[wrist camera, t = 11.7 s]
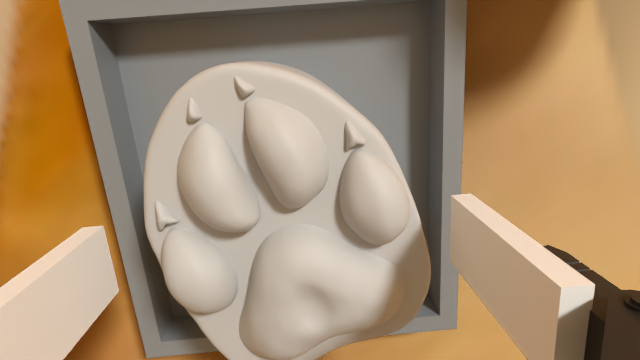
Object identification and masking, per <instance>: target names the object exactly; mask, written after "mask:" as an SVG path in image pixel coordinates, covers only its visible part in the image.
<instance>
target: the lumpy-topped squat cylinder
mask: <svg viewBox="0 0 640 360" xmlns="http://www.w3.org/2000/svg"><path fill="white" fill-rule="evenodd" d="M143 189H144V220H145V229H146V233H147V237H148V239H149V242H150V244H151V247H152V249H153V251H154V253H155V255H156V257H157V259H158V261H159V264H160V266H161V268H162V270H163V275H164V279H165V282H166V285H167V287H168V289H169V291H170V293H171V294H172V296H173V297H174V298H175V299H176V300H177V301H178V302H179V303H180V304H181V305H182V306H184V307H185V309H186V310H187V311H188V313H189V314H190V315H191V317H192V318H193V319H194V320H195V321H196V323H197V324H198V326H199V327H200V329H201V330H202V331H203V333H204V334H205V335H206V336H207V338H208V339H209V340H210V342H211V343H212V344H213V345H214V346H215V347H216V348H217V349H218V350H219V352H220V353H222V354H223V355H224V356H225V357H226V358H227V359H228V360H316V359H318V358H320V357H321V356H323V355H325V354H326V353H328V352H330V351H333V350H335V349H337V348H340V347H342V346H345V345H348V344H351V343H355V342H359V341H364V340H368V339H373V338H378V337H381V336H384V335H387V334H390V333H393V332H395V331H397V330H399V329H401V328H403V327H404V326H406V325H407V324H408V323H410V322H411V321H412V319H413V318H414V317H415V316H416V315H417V313H418V312H419V310H420V309H421V307H422V305H423V302H424V300H425V298H426V295H427V292H428V289H429V284H430V278H431V265H430V256H429V252H428V248H427V244H426V240H425V237H424V233H423V229H422V225H421V220H420V217H419V214H418V211H417V208H416V205H415V202H414V199H413V197H412V194H411V192H410V189H409V187H408V185H407V182H406V180H405V177H404V175H403V173H402V170H401V168H400V166H399V164H398V162H397V160H396V158H395V156H394V154H393V152H392V150H391V148H390V146H389V145H388V143H387V141H386V140H385V138H384V137H383V135H382V134H381V133H380V131H379V130H378V129H377V128H376V127H375V126H374V125H373V124H372V123H371V122H370V121H369V120H368V119H367V118H366V117H365V116H363V115H362V114H361V113H360V112H359V111H357V110H356V109H355V108H354V107H353V106H352V105H351V104H350V103H348V102H347V101H346V100H345V99H344V98H343V97H341V96H340V95H339V94H338V93H336V92H335V91H334V90H332V89H331V88H330V87H328V86H327V85H326V84H324V83H323V82H321V81H320V80H318V79H317V78H315V77H314V76H312V75H310V74H308V73H306V72H304V71H302V70H299V69H296V68H293V67H290V66H287V65H283V64H279V63H274V62H266V61H246V62H236V63H227V64H221V65H218V66H214V67H211V68H209V69H206V70H204V71H202V72H200V73H198V74H197V75H195V76H193V77H192V78H191V79H189V80H188V81H187V82H186V83H185V84H184V85H183V86H182V87H181V88H180V89H179V90H177V91H176V93H175V94H174V95H173V96H172V98H171V99H170V101H169V102H168V104H167V105H166V107H165V109H164V111H163V112H162V114H161V116H160V118H159V120H158V122H157V125H156V127H155V129H154V132H153V134H152V137H151V139H150V142H149V145H148V149H147V154H146V160H145V169H144V187H143Z"/></svg>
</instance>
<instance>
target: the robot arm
mask: <svg viewBox="0 0 640 360" xmlns="http://www.w3.org/2000/svg"><path fill="white" fill-rule="evenodd" d="M450 261H451V263H452V264H453V265H454V266H455V268H456V269H457V270H458V272H459V273H460V274H461V275H462V277H463V278H464V279H465V281H466V282H467V283H468V284H469V286H470V287H471V288H472V290H473V291H474V292H475V293H476V295H477V296H478V297H479V298H480V300H481V301H482V302H483V304H484V305H485V306H486V307H487V309H488V310H489V311H490V313H491V314H492V315H493V316H494V318H495V319H496V320H497V322H498V323H499V324H500V325H501V327H502V328H503V329H504V330H505V332H506V333H507V334H508V336H509V337H510V338H511V339H512V341H513V342H514V343H515V345H516V346H517V347H518V348H519V350H520V351H521V352H522V354H523V355H524V356H525V357H526V359H527V360H640V291H636V290H620V289H619V288H618V287H616V286H615V285H613V284H612V283H610V282H609V281H607V280H606V279H605V278H603V277H602V276H600V275H599V274H597V273H596V272H594V271H593V270H590V268H589V267H587V266H586V265H584V264H583V263H579V261H578V260H577V259H575V258H574V257H573V256H571V255H570V254H568V253H567V252H565V251H562V250H559V249H557V248H554V247H552V246H549V245H547V246H542V245H540V244H539V243H538V242H536V241H535V240H534V239H532V238H531V237H529V236H528V235H527V234H525V233H524V232H523V231H521V230H520V229H519V228H517V227H516V226H514V225H513V224H512V223H510V222H509V221H508V220H506V219H505V218H503V217H502V216H501V215H499V214H498V213H497V212H495V211H494V210H493V209H491V208H490V207H488V206H487V205H486V204H484V203H483V202H482V201H480V200H479V199H477V198H476V197H475V196H473V195H472V194H460V195H451V224H450ZM118 292H119V288H118V284H117V280H116V276H115V272H114V267H113V263H112V259H111V255H110V251H109V247H108V243H107V239H106V234H105V230H104V226H94V227H83V228H81V229H80V230H78V231H77V232H76V233H74V234H73V235H72V236H70V237H69V238H68V239H66V240H65V241H63V242H62V243H61V244H59V245H58V246H57V247H55V248H54V249H52V250H51V251H50V252H48V253H47V254H46V255H44V256H43V257H42V258H40V259H39V260H37V261H36V262H35V263H33V264H32V265H31V266H29V267H28V268H26V269H25V270H24V271H22V272H21V273H20V274H18V275H17V276H16V277H14V278H13V279H11V280H10V281H9V282H7V283H6V284H5V285H3V286H2V287H0V360H63V359H64V358H65V357H66V356H67V354H68V353H69V352H70V351H71V350H72V348H73V347H74V346H75V345H76V343H77V342H78V341H79V340H80V338H81V337H82V336H83V335H84V334H85V332H86V331H87V330H88V329H89V327H90V326H91V325H92V324H93V322H94V321H95V320H96V319H97V318H98V316H99V315H100V314H101V313H102V311H103V310H104V309H105V308H106V307H107V305H108V304H109V303H110V302H111V300H112V299H113V298H114V297H115V295H116V294H117V293H118Z"/></svg>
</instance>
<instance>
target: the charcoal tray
mask: <svg viewBox="0 0 640 360" xmlns="http://www.w3.org/2000/svg"><path fill="white" fill-rule="evenodd" d="M59 3H60V8H61V12H62V16H63V20H64V24H65V28H66V32H67V36H68V40H69V44H70V48H71V52H72V56H73V60H74V65H75V69H76V73H77V77H78V81H79V85H80V89H81V93H82V97H83V101H84V105H85V109H86V113H87V117H88V121H89V126H90V130H91V134H92V138H93V142H94V146H95V150H96V154H97V158H98V162H99V166H100V170H101V174H102V178H103V183H104V187H105V191H106V195H107V199H108V203H109V207H110V211H111V215H112V219H113V223H114V227H115V231H116V235H117V239H118V244H119V248H120V252H121V256H122V260H123V264H124V268H125V272H126V276H127V280H128V284H129V288H130V292H131V296H132V301H133V305H134V309H135V313H136V317H137V321H138V325H139V329H140V333H141V337H142V341H143V345H144V349H145V353H146V357H147V358H154V357H164V356H175V355H185V354H196V353H206V352H217V351H219V350H218V349H217V348H216V347H215V346H214V345H213V344H212V343H211V342H210V340H209V339H208V338H207V336H206V335H205V334H204V333H203V331H202V330H201V329H200V327H199V326H198V324H197V323H196V321H195V320H194V319H193V318H192V317H191V315H190V314H189V313H188V311H187V310H186V309H185V307H184V306H182V305H181V304H180V303H179V302H178V301H177V300H176V299H175V298H174V297H173V296H172V294H171V293H170V291H169V289H168V287H167V285H166V282H165V279H164V275H163V270H162V268H161V266H160V264H159V261H158V259H157V257H156V255H155V253H154V251H153V249H152V247H151V244H150V242H149V239H148V237H147V233H146V229H145V220H144V189H143V187H144V169H145V160H146V154H147V149H148V145H149V142H150V139H151V137H152V134H153V132H154V129H155V127H156V125H157V122H158V120H159V118H160V116H161V114H162V112H163V111H164V109H165V107H166V105H167V104H168V102H169V101H170V99H171V98H172V96H173V95H174V94H175V93H176V91H177V90H179V89H180V88H181V87H182V86H183V85H184V84H185V83H186V82H187V81H188V80H189V79H191V78H192V77H193V76H195V75H197V74H198V73H200V72H202V71H204V70H206V69H209V68H211V67H214V66H218V65H221V64H227V63H236V62H246V61H266V62H274V63H279V64H283V65H287V66H290V67H293V68H296V69H299V70H302V71H304V72H306V73H308V74H310V75H312V76H314V77H315V78H317V79H318V80H320V81H321V82H323V83H324V84H326V85H327V86H328V87H330V88H331V89H332V90H334V91H335V92H336V93H338V94H339V95H340V96H341V97H343V98H344V99H345V100H346V101H347V102H348V103H350V104H351V105H352V106H353V107H354V108H355V109H356V110H357V111H359V112H360V113H361V114H362V115H363V116H365V117H366V118H367V119H368V120H369V121H370V122H371V123H372V124H373V125H374V126H375V127H376V128H377V129H378V130H379V131H380V133H381V134H382V135H383V137H384V138H385V140H386V141H387V143H388V145H389V146H390V148H391V150H392V152H393V154H394V156H395V158H396V160H397V162H398V164H399V166H400V168H401V170H402V173H403V175H404V177H405V180H406V182H407V185H408V187H409V189H410V192H411V194H412V197H413V199H414V202H415V205H416V208H417V211H418V214H419V217H420V220H421V225H422V229H423V233H424V237H425V240H426V244H427V248H428V252H429V256H430V265H431V278H430V284H429V289H428V292H427V295H426V298H425V300H424V302H423V305H422V307H421V309H420V310H419V312H418V313H417V315H416V316H415V317H414V318H413V319H412V321H411V322H410V323H408V324H407V325H406V326H404V327H403V328H401V329H399V330H397V331H395V332H393V333H390V334H387V335H395V334H406V333H416V332H427V331H437V330H448V329H457V303H458V270H457V269H456V268H455V266H454V265H453V264H452V263H451V261H450V224H451V195H460V194H461V179H462V148H463V117H464V86H465V55H466V24H467V0H59ZM384 336H385V335H384Z"/></svg>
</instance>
